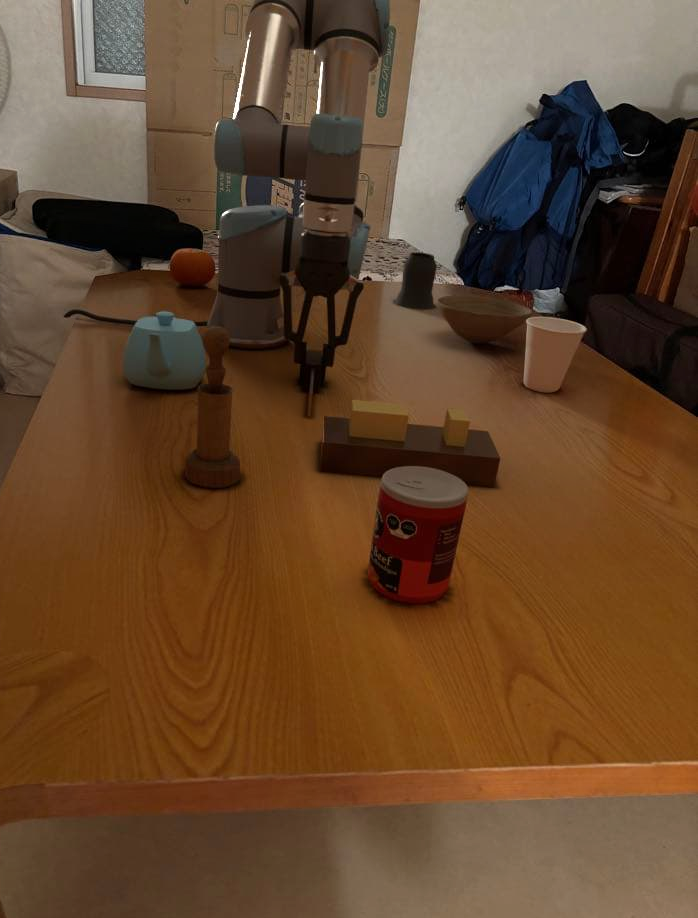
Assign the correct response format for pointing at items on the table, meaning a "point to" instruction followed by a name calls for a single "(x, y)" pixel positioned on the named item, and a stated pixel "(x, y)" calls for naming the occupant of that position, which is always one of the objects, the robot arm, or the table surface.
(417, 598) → the canned food
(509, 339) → the table surface
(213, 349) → the mortar and pestle
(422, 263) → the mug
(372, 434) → the butter
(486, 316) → the bowl
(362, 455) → the board
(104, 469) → the table surface
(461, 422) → the butter slice
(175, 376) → the teapot
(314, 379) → the knife
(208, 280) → the fruit
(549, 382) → the cup
